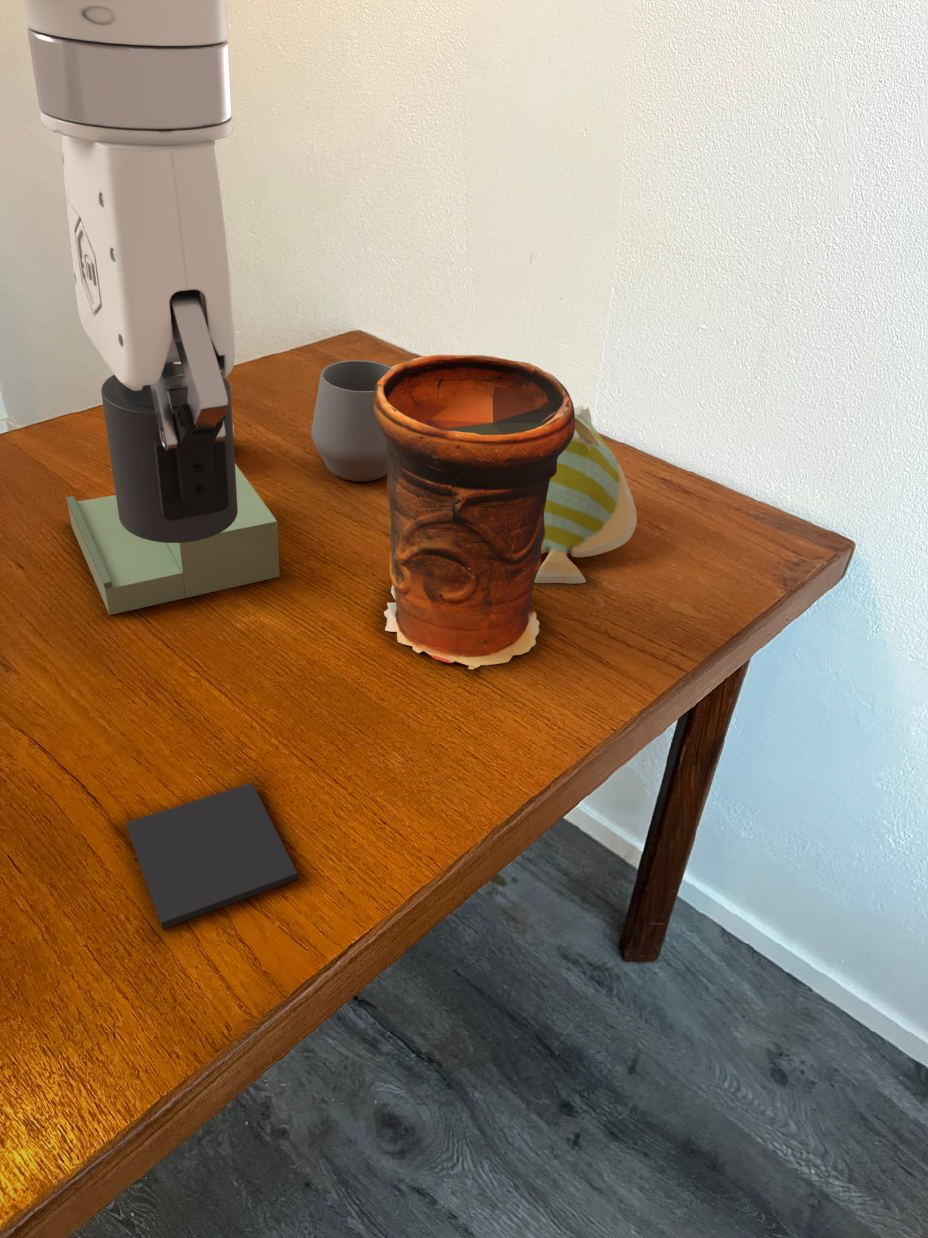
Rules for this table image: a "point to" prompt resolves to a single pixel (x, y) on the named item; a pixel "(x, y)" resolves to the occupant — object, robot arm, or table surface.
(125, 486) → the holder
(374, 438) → the cup
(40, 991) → the table surface
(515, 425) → the vessel
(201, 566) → the green stepped riser
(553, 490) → the decorative fish sculpture
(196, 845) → the pad
